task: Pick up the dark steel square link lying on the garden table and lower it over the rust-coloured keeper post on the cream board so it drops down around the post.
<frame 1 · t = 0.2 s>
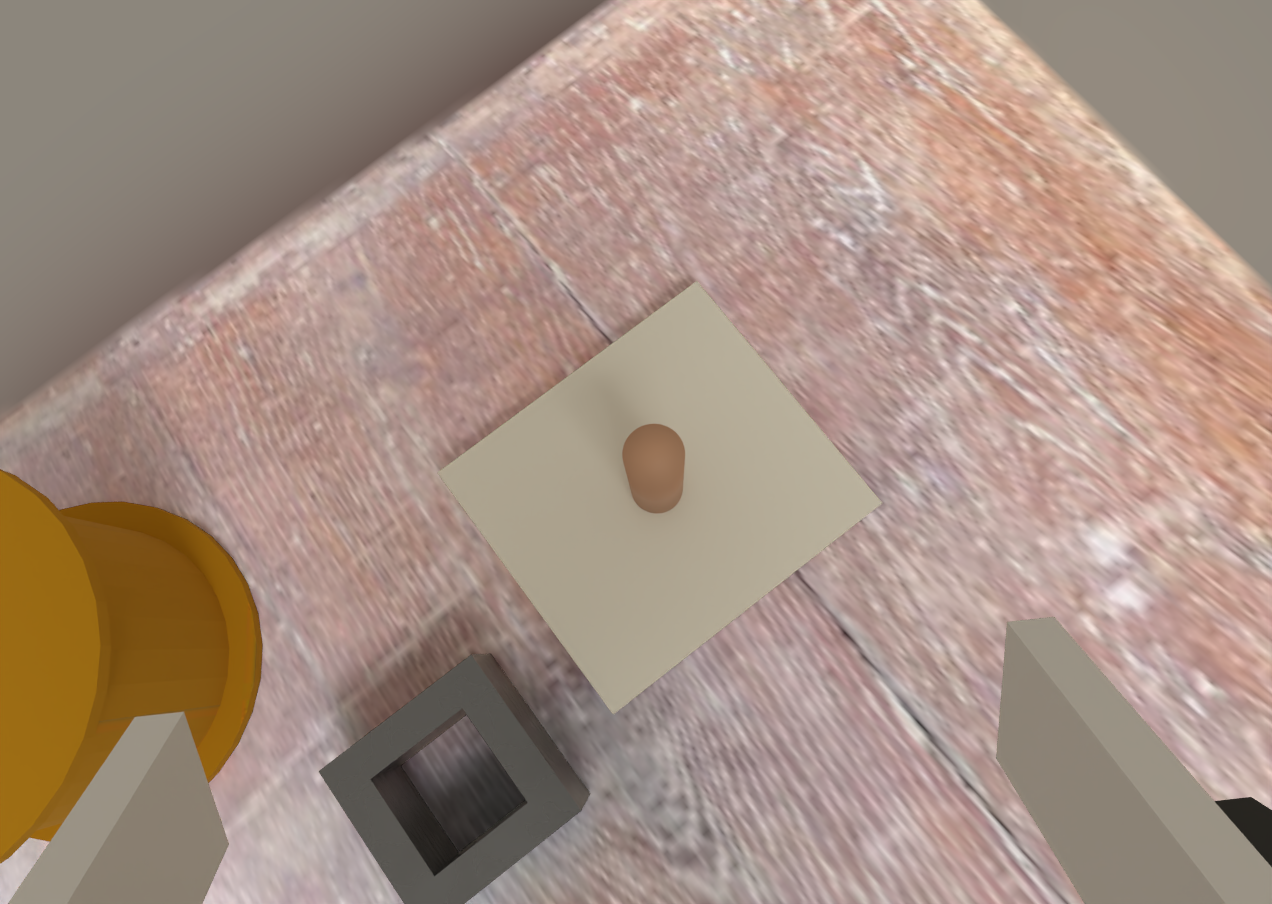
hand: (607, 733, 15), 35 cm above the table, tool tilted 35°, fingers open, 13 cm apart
steel link: (471, 776, 49), on the table
keeper board: (657, 492, 52), on the table
spool: (103, 665, 51), on the table
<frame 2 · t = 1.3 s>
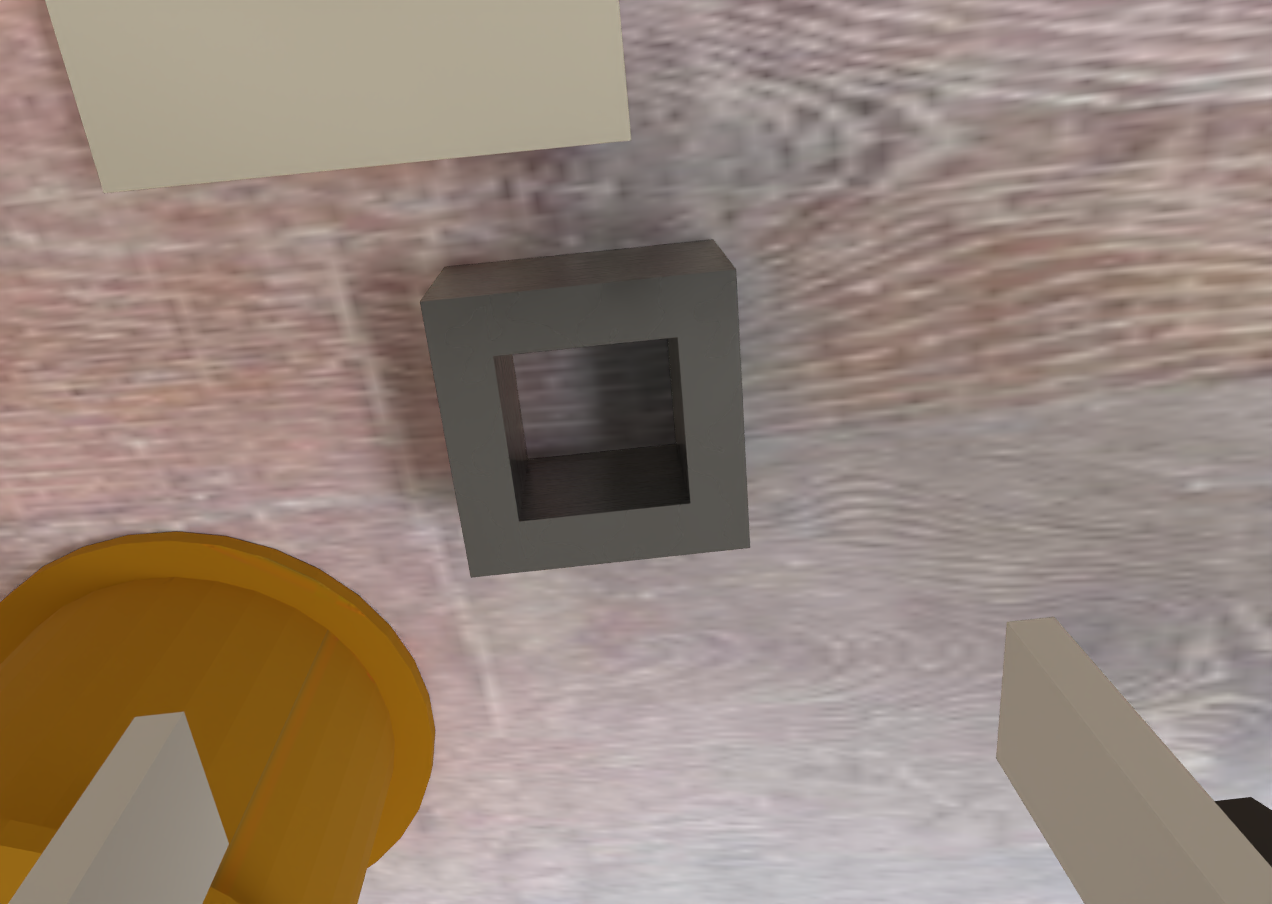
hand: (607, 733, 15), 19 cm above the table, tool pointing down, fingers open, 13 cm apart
steel link: (593, 381, 33), on the table
spool: (212, 725, 38), on the table
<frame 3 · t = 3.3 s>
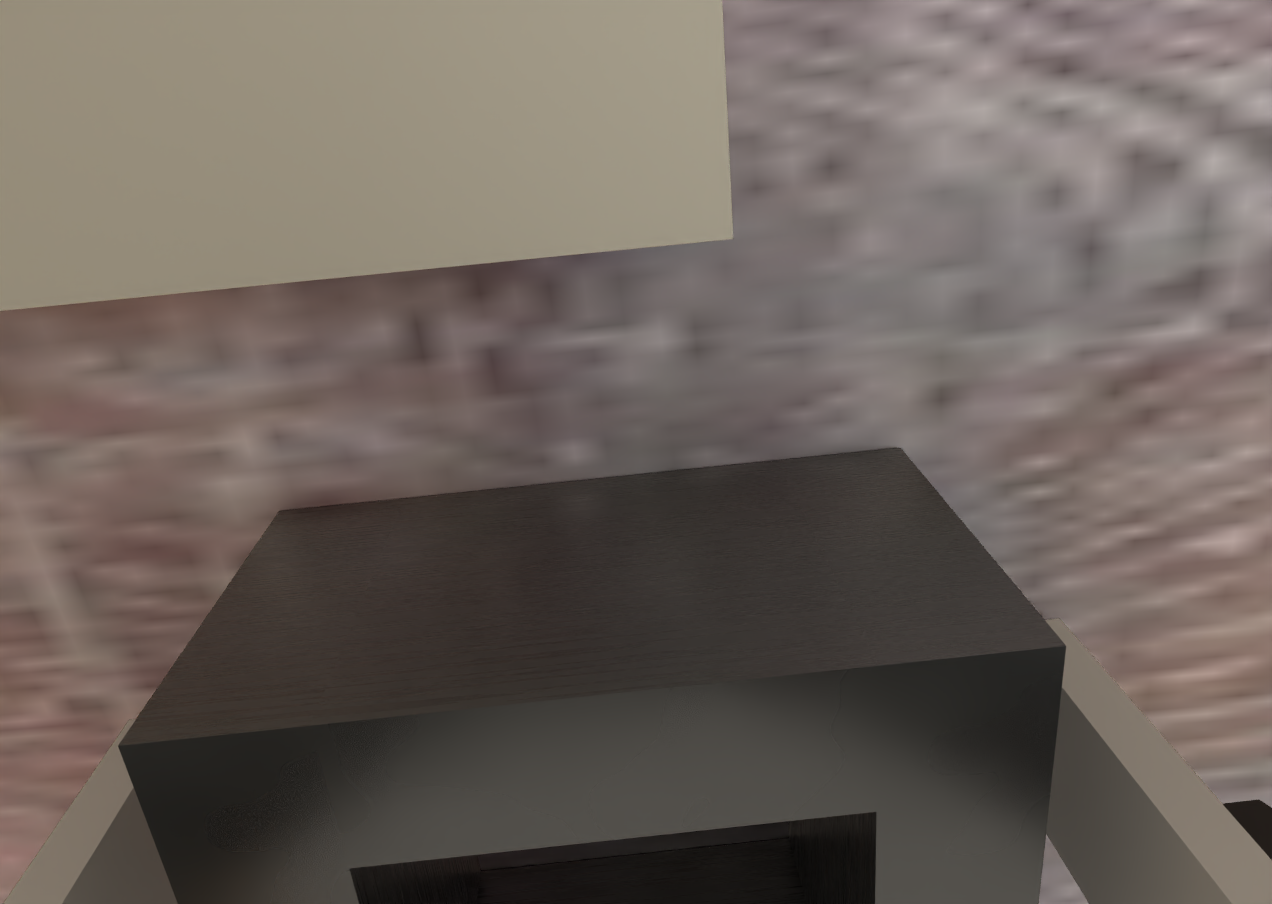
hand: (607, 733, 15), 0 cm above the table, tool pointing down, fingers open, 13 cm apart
steel link: (620, 729, 15), on the table
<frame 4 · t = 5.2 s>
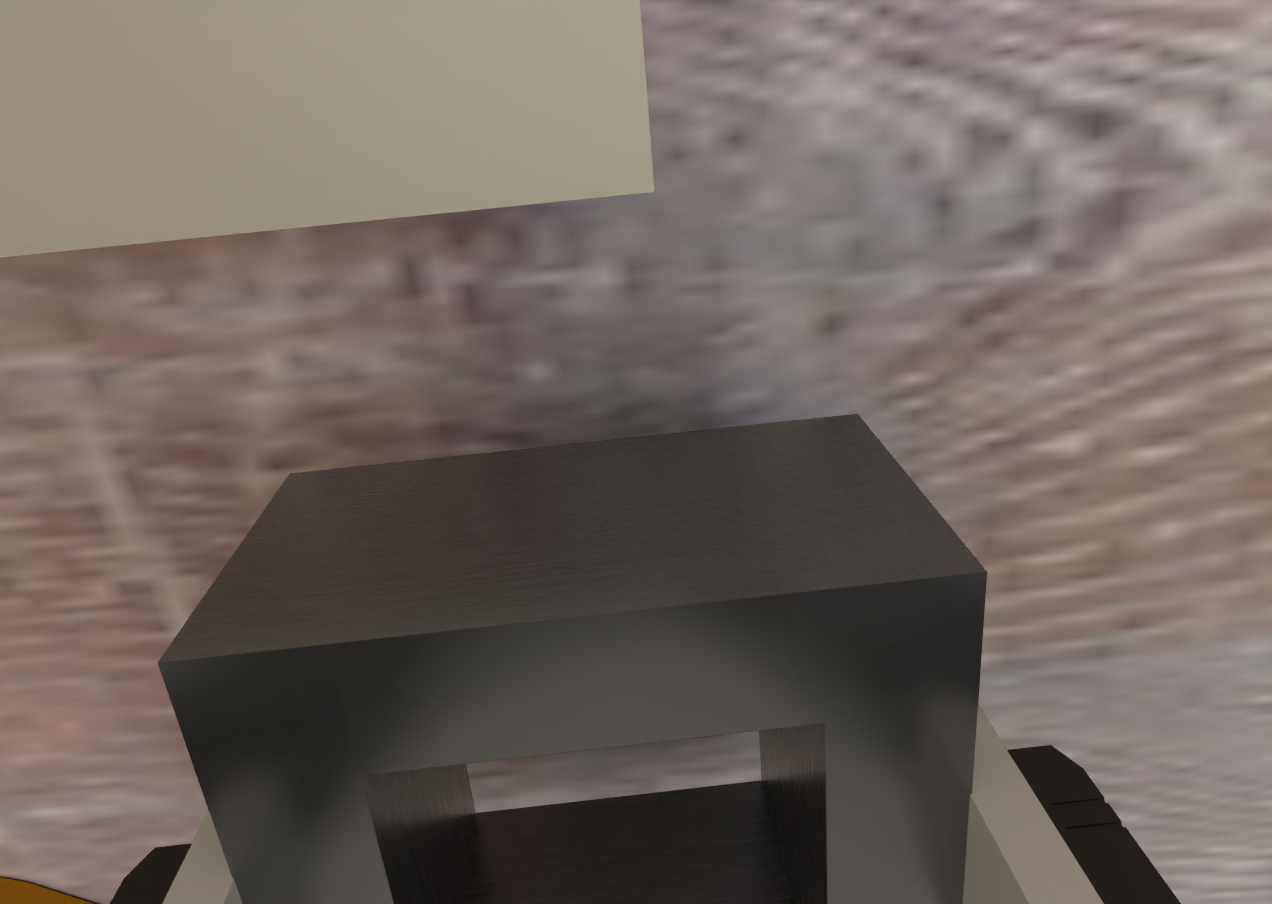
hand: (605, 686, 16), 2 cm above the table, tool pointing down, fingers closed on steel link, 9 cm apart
steel link: (604, 678, 16), point 2 cm above the table, touching gripper
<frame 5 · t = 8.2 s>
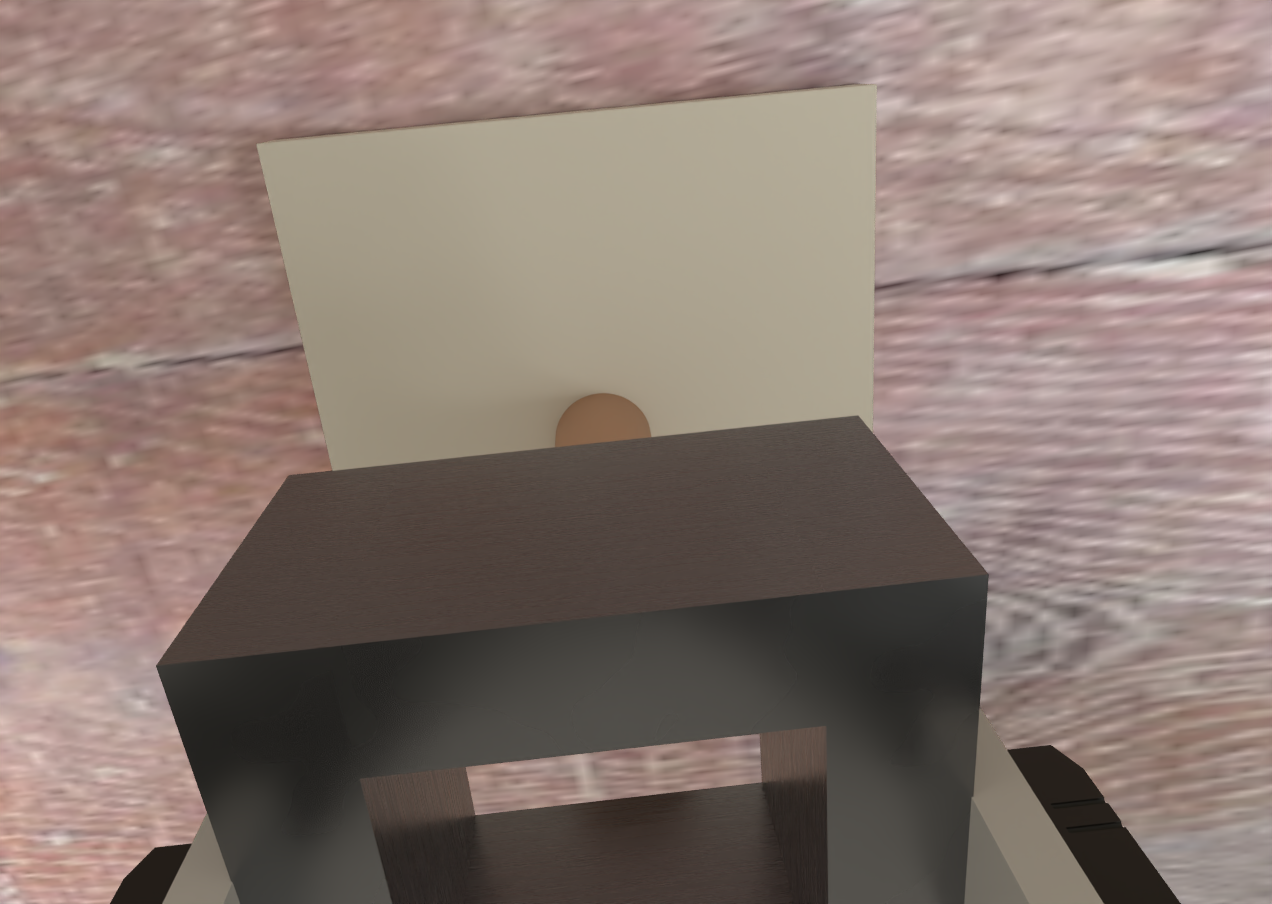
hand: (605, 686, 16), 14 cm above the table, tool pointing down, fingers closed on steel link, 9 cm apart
steel link: (604, 680, 16), point 13 cm above the table, touching gripper
keeper board: (602, 420, 29), on the table
when the fingers open (3 cm above the table, at t = 11.1 s): steel link drops 2 cm, resting on keeper board.
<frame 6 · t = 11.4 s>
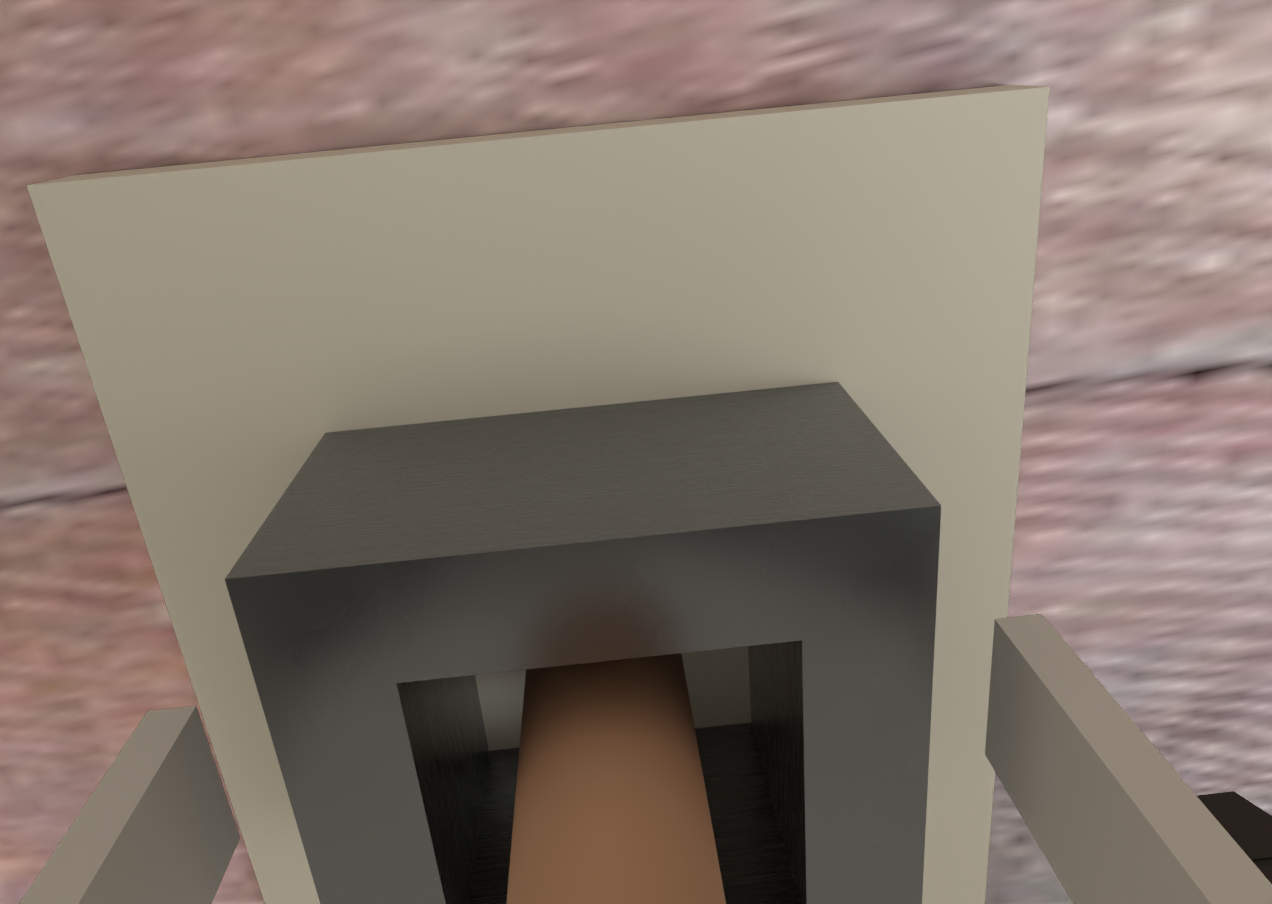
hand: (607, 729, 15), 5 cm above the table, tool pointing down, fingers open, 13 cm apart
steel link: (607, 624, 18), point 1 cm above the table, touching keeper board
keeper board: (600, 584, 19), on the table
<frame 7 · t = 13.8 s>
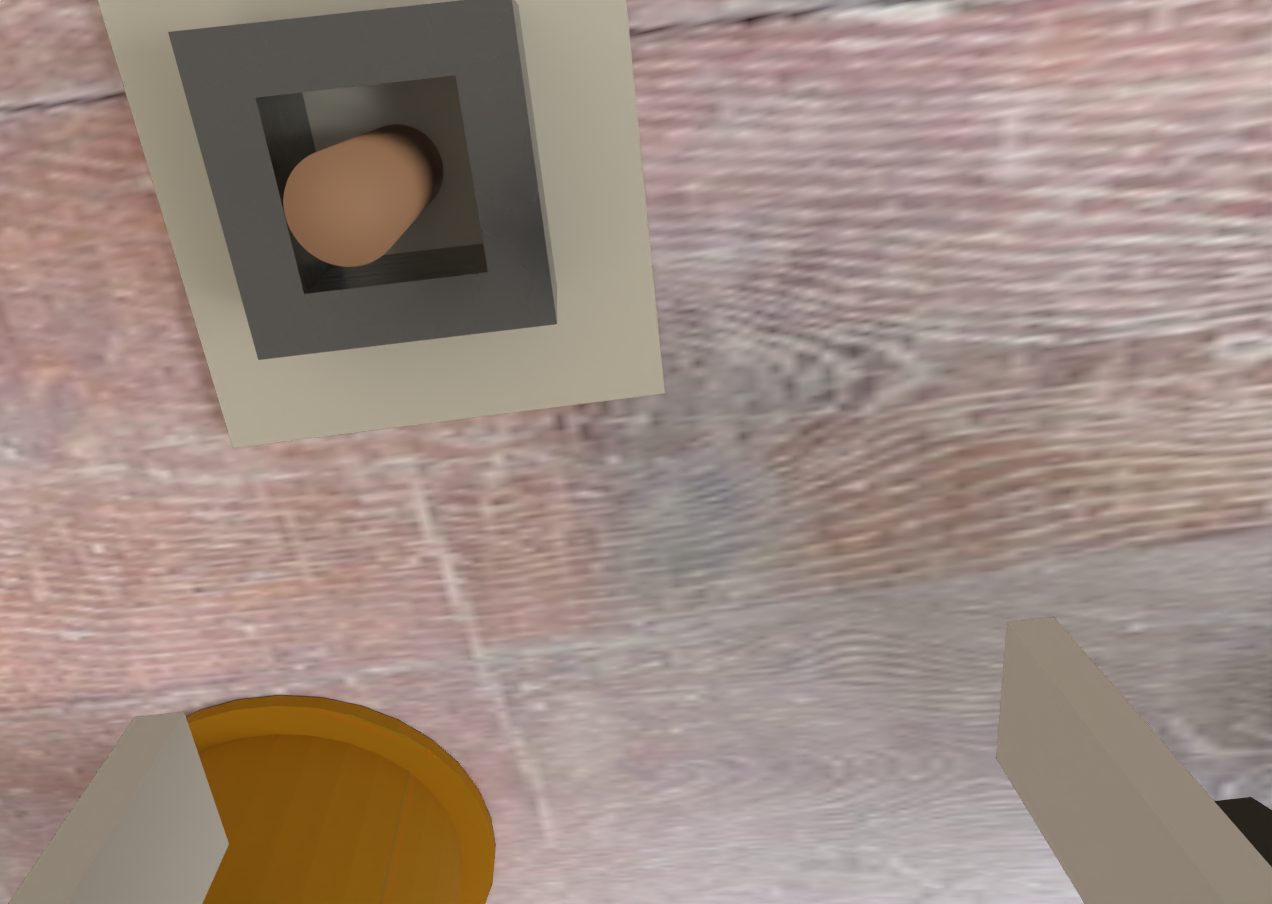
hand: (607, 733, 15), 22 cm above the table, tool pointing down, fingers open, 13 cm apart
steel link: (403, 169, 31), point 1 cm above the table, touching keeper board
keeper board: (407, 164, 32), on the table
spool: (304, 847, 44), on the table
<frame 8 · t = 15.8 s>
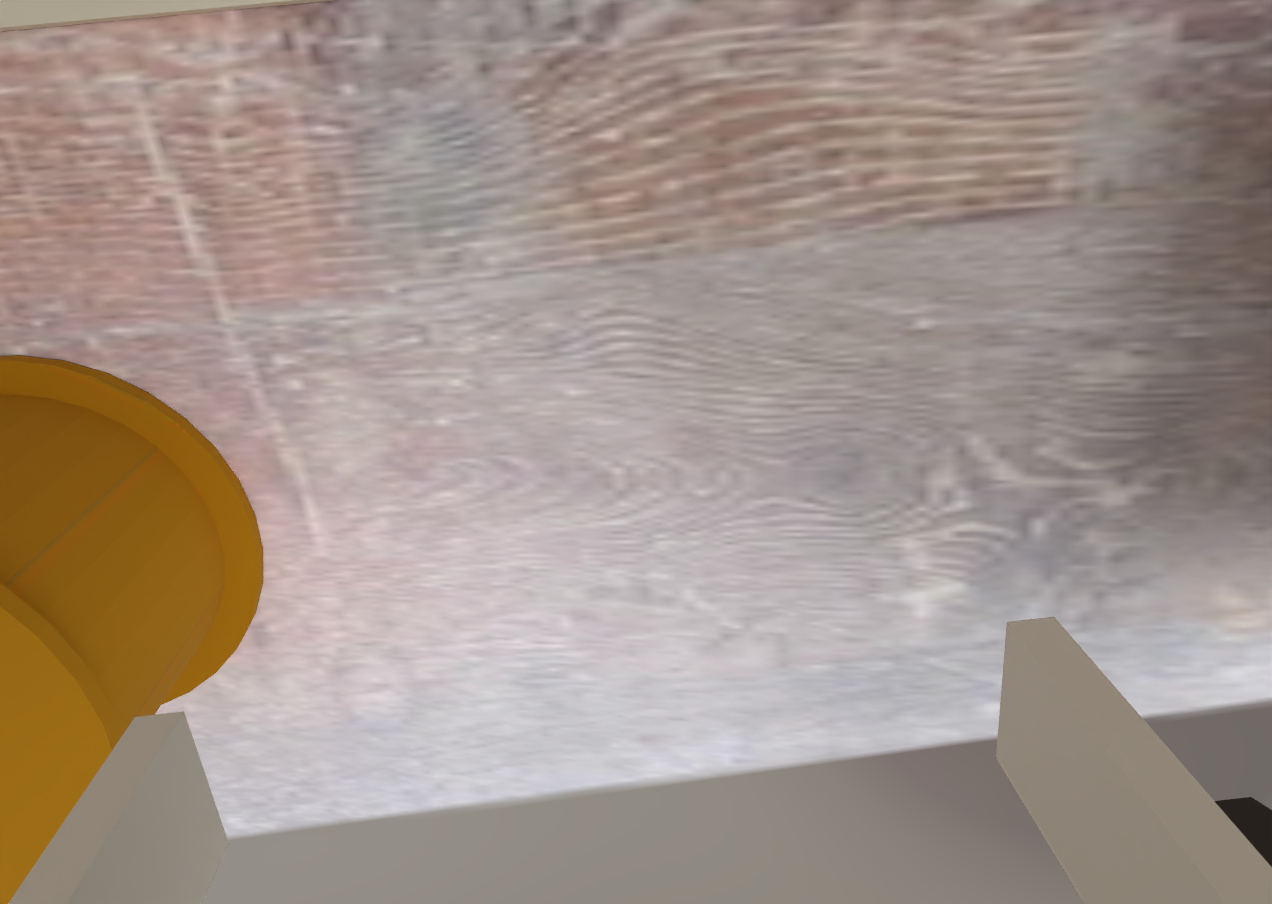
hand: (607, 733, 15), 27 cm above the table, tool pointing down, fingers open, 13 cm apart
spool: (63, 543, 42), on the table
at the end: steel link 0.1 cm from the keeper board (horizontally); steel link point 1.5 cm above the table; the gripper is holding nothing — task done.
